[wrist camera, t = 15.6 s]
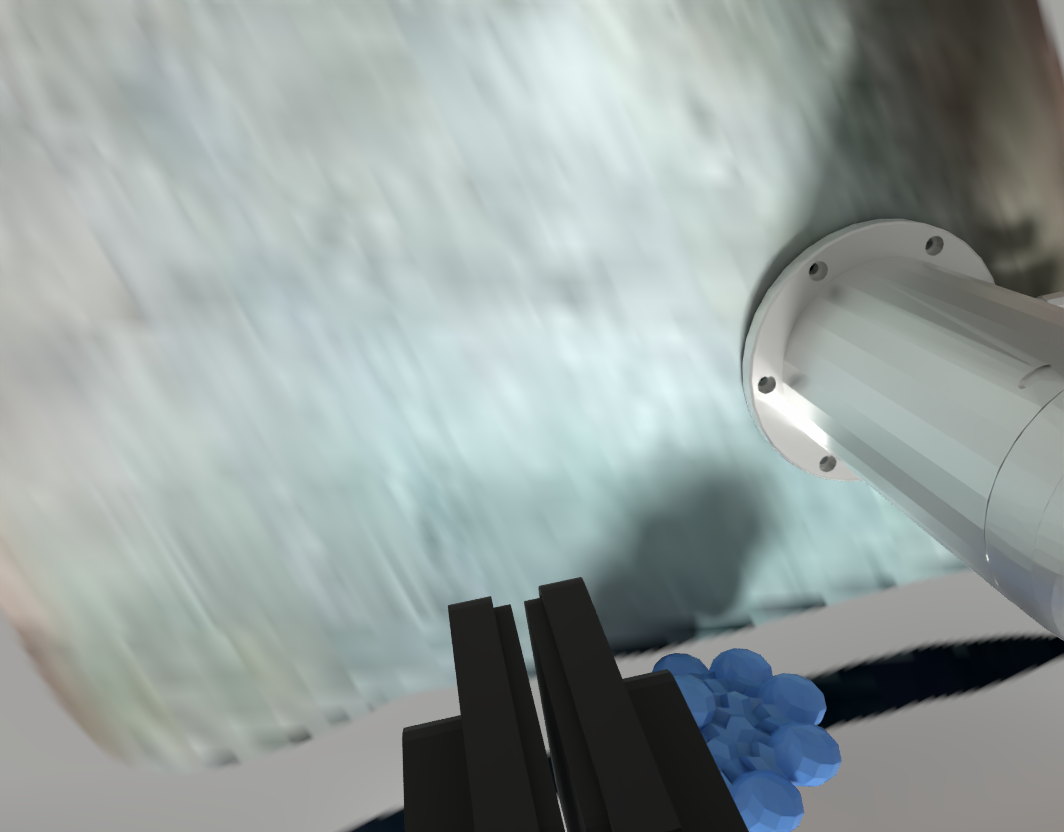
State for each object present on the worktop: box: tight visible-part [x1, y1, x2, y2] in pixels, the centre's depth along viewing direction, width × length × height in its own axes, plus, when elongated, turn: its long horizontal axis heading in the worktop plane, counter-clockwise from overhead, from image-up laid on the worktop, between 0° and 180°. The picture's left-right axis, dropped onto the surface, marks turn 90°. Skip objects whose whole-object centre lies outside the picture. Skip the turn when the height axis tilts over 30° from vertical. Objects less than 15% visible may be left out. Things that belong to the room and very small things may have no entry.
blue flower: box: [652, 648, 841, 832], centre depth 41 cm, size 12×7×12 cm, turn 117°
